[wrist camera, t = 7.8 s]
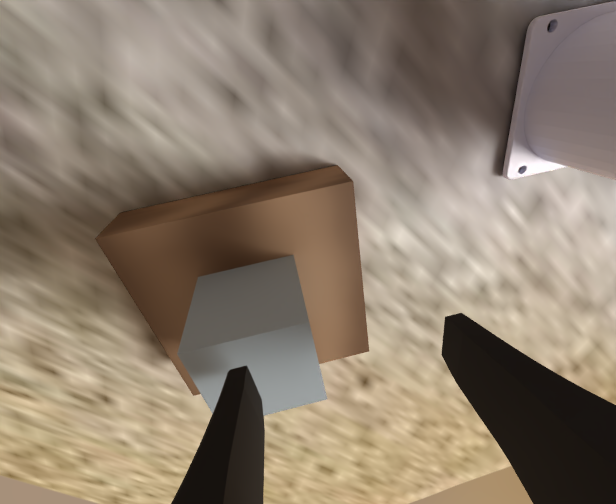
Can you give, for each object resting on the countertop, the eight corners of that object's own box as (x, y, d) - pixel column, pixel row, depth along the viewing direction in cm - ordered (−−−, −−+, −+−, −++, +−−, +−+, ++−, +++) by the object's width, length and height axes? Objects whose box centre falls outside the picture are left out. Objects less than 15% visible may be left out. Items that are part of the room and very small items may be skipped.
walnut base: (337, 165, 17) (353, 181, 14) (355, 320, 23) (369, 351, 20) (120, 212, 16) (95, 238, 13) (200, 359, 22) (193, 395, 20)
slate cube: (293, 254, 16) (309, 321, 11) (309, 323, 18) (327, 399, 14) (198, 277, 15) (176, 354, 11) (228, 343, 18) (220, 426, 14)
